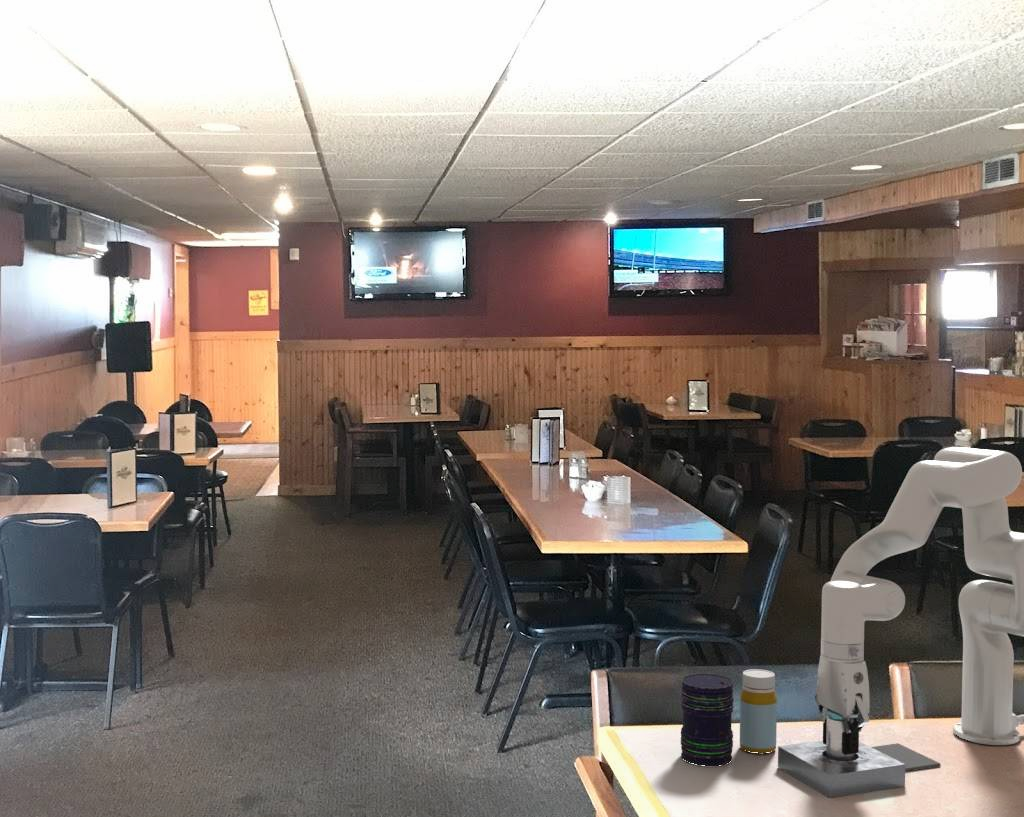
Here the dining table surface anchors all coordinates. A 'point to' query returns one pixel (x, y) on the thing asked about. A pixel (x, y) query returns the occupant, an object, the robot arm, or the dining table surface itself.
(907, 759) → the mat
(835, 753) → the plug
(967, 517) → the robot arm
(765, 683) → the bottle
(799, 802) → the dining table surface
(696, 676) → the storage jar
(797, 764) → the housing
